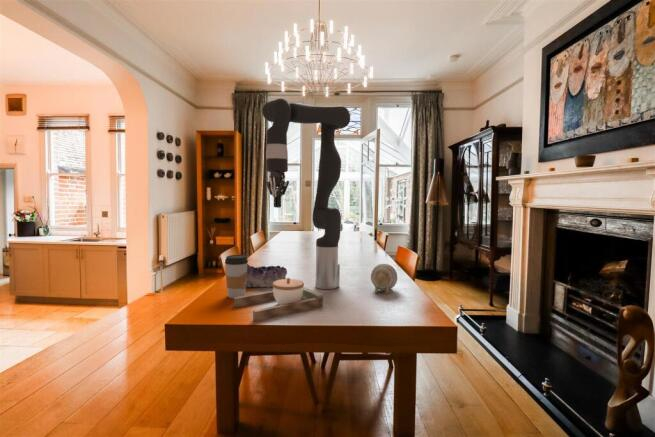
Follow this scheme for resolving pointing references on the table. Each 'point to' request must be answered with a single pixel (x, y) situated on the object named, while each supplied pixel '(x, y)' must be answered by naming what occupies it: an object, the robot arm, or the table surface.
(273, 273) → the geode
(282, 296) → the lidded jar
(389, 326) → the table surface
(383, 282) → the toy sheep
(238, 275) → the coffee cup
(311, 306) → the channel
